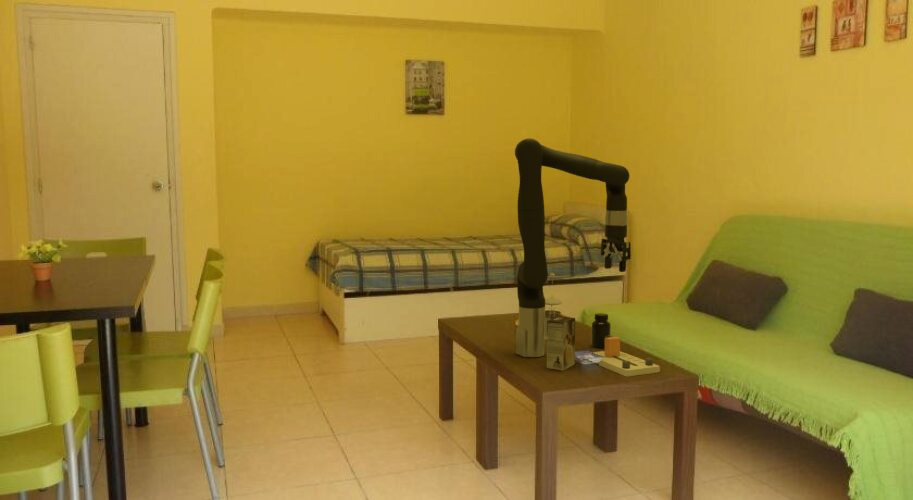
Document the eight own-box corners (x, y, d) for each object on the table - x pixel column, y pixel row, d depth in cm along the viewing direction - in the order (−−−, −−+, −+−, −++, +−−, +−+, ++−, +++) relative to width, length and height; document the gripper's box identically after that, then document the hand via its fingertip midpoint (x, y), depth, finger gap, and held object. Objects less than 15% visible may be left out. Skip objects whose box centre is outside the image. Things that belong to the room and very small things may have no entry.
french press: (563, 334, 304) (564, 271, 301) (564, 341, 293) (565, 275, 290) (538, 333, 305) (539, 271, 302) (538, 340, 294) (539, 275, 291)
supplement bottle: (610, 349, 280) (610, 316, 279) (590, 348, 282) (591, 315, 280) (610, 344, 287) (610, 312, 286) (591, 343, 288) (592, 312, 287)
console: (626, 376, 244) (626, 364, 244) (584, 359, 266) (584, 347, 266) (659, 372, 250) (660, 360, 249) (615, 355, 271) (616, 344, 271)
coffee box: (557, 362, 262) (558, 315, 260) (575, 364, 259) (576, 317, 257) (546, 368, 255) (546, 320, 253) (563, 371, 251) (564, 322, 249)
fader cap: (608, 357, 260) (609, 339, 259) (604, 355, 263) (604, 337, 262) (619, 355, 262) (620, 338, 261) (615, 353, 264) (615, 336, 264)
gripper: (595, 222, 272) (594, 268, 274) (619, 225, 259) (618, 273, 261) (613, 221, 275) (612, 267, 277) (637, 224, 262) (636, 272, 264)
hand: (615, 270), depth 269 cm, fingers open, 8 cm apart
